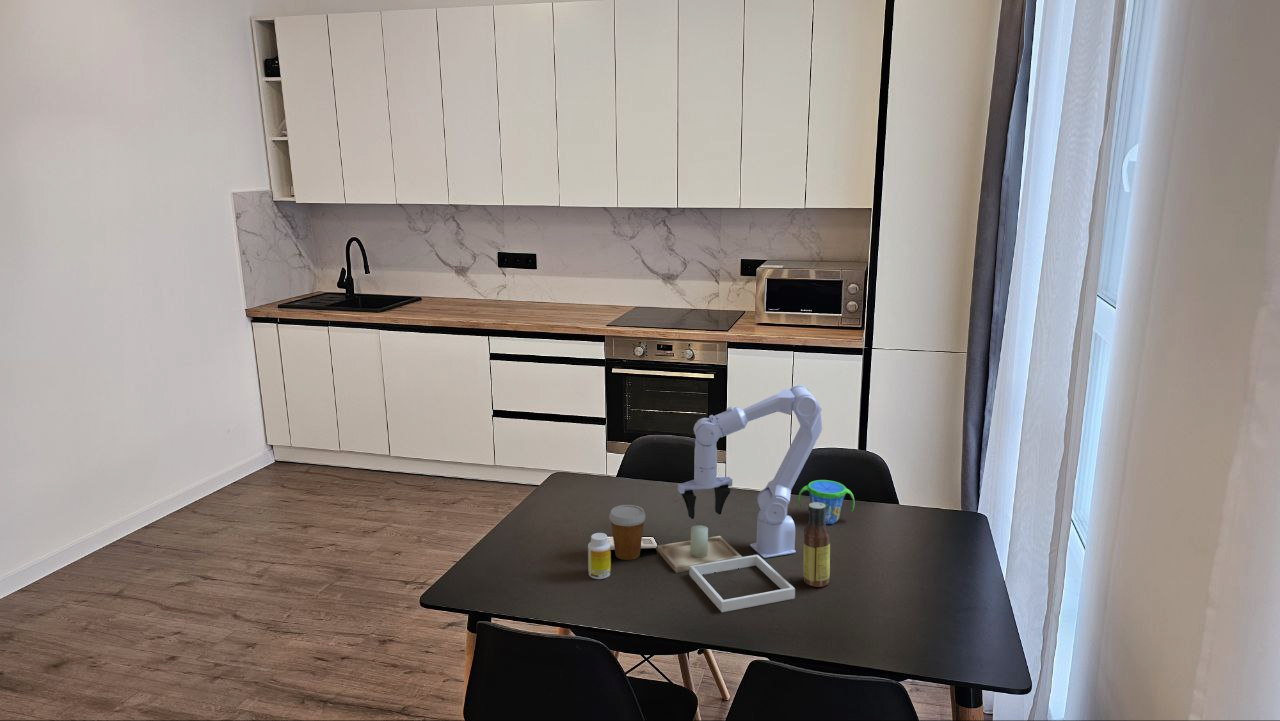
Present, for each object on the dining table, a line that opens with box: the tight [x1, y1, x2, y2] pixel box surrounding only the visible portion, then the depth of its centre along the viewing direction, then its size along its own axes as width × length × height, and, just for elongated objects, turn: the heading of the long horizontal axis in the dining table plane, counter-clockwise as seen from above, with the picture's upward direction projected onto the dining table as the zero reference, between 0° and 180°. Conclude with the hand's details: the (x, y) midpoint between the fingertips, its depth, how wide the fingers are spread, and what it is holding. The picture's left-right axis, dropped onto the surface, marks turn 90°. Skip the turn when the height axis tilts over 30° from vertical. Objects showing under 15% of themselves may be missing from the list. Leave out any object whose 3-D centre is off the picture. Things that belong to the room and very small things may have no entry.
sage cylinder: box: [690, 524, 709, 558], centre depth 213 cm, size 4×4×7 cm
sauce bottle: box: [802, 502, 831, 588], centre depth 198 cm, size 6×6×20 cm
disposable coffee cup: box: [608, 504, 647, 561], centre depth 213 cm, size 10×10×12 cm
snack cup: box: [797, 479, 856, 525], centre depth 235 cm, size 16×10×10 cm
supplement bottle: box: [587, 532, 612, 580], centre depth 203 cm, size 6×6×10 cm
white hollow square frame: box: [689, 554, 796, 613], centre depth 198 cm, size 19×19×2 cm
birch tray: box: [656, 535, 743, 574], centre depth 214 cm, size 18×13×2 cm
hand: (704, 515), depth 215 cm, fingers open, 7 cm apart
